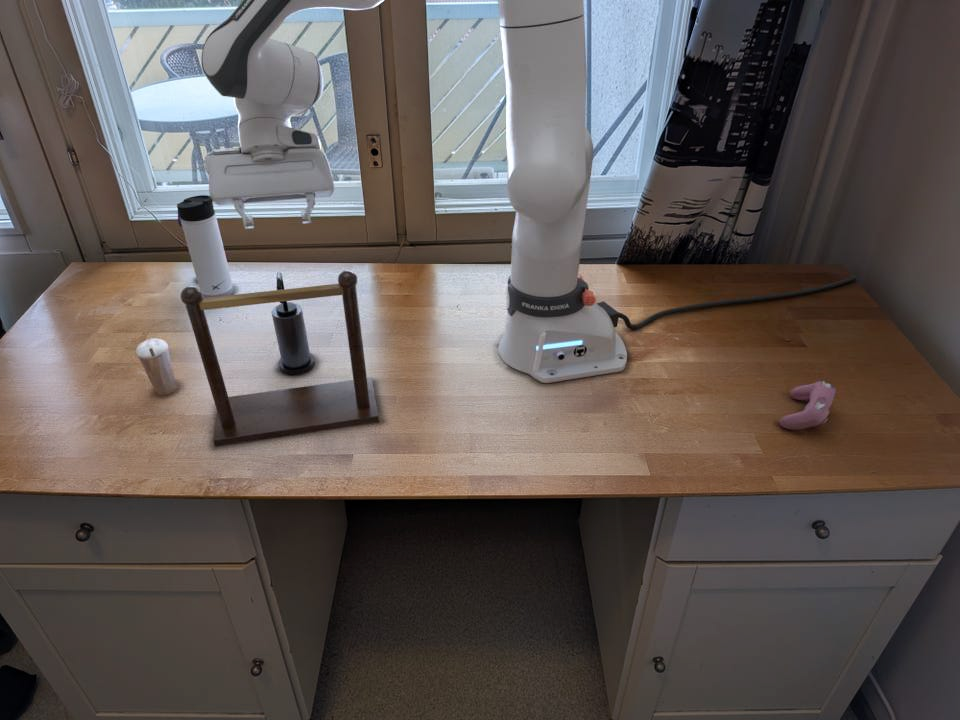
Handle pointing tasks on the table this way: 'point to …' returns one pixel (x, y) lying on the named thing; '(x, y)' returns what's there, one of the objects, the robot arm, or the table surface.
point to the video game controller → (810, 406)
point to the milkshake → (157, 365)
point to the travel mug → (205, 246)
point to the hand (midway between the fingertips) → (278, 224)
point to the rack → (288, 406)
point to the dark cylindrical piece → (291, 337)
